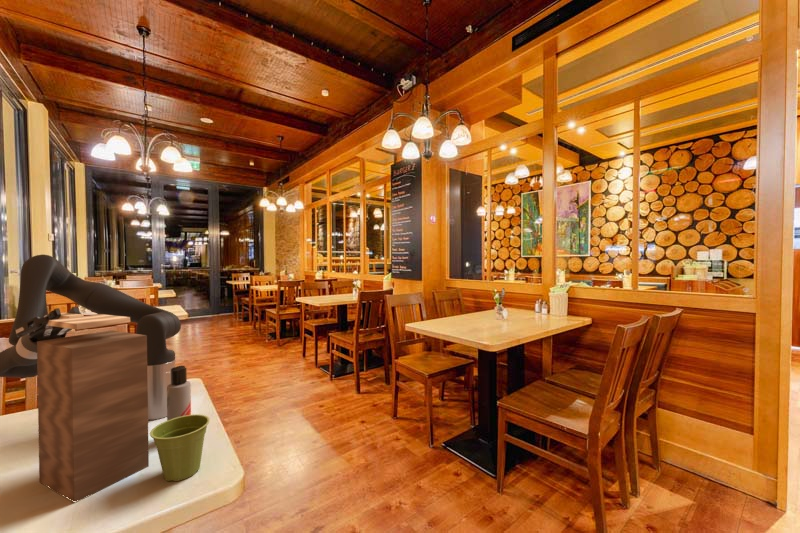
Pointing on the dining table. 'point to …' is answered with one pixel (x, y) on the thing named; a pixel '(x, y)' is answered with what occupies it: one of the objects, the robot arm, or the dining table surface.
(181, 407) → the lotion bottle
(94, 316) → the tan stepped slab
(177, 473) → the plant pot
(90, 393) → the walnut plinth
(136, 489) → the dining table surface
